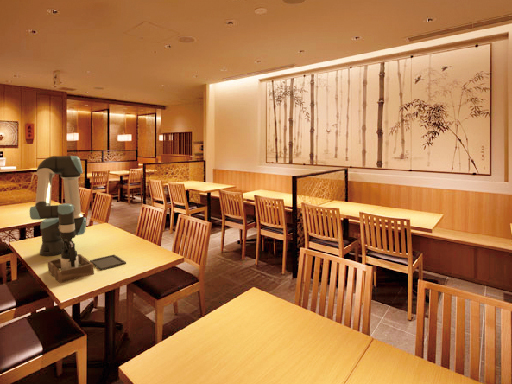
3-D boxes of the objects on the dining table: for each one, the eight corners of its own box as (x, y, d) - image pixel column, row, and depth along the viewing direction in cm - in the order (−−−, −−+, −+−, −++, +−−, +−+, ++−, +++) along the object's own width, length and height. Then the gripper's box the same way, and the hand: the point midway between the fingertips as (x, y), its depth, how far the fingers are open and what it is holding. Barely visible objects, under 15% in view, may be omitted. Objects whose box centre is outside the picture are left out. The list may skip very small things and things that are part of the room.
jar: (62, 276, 182) (60, 256, 181) (61, 271, 189) (59, 251, 187) (80, 273, 187) (78, 253, 185) (78, 268, 194) (77, 249, 192)
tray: (90, 262, 204) (89, 260, 204) (114, 256, 214) (114, 254, 214) (101, 270, 191) (100, 268, 191) (126, 263, 202) (126, 261, 202)
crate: (48, 270, 190) (47, 261, 189) (80, 263, 202) (79, 253, 201) (59, 283, 174) (58, 272, 173) (93, 273, 186) (93, 263, 185)
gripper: (54, 228, 188) (58, 266, 192) (65, 236, 174) (68, 276, 178) (69, 226, 193) (72, 263, 197) (80, 233, 180) (83, 272, 183)
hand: (70, 269), depth 187 cm, fingers closed on jar, 7 cm apart
